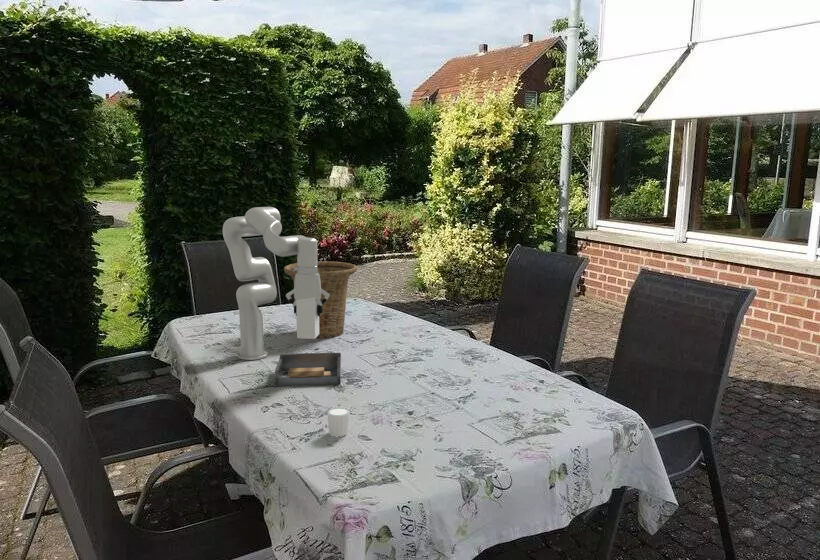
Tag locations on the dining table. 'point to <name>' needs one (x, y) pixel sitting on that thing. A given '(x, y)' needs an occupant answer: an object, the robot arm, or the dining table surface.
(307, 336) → the milk carton
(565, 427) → the dining table surface
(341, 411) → the white cylinder
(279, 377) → the dark grey tray
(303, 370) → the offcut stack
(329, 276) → the wicker basket
